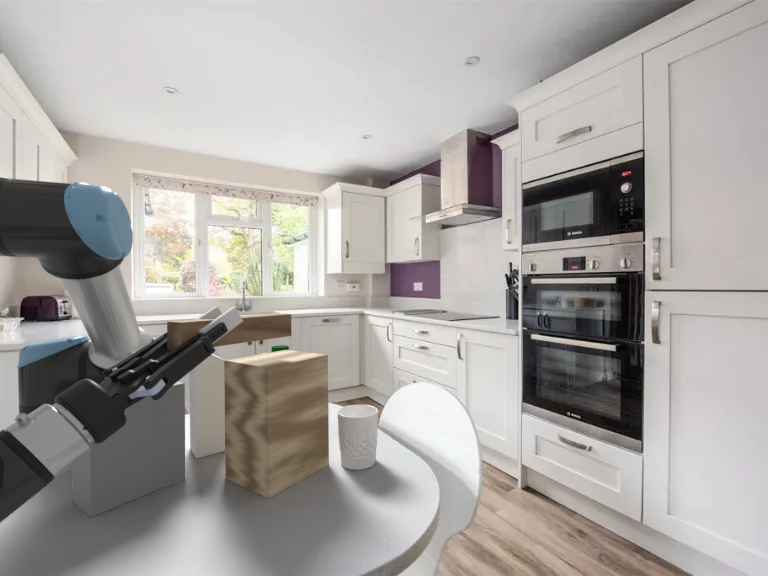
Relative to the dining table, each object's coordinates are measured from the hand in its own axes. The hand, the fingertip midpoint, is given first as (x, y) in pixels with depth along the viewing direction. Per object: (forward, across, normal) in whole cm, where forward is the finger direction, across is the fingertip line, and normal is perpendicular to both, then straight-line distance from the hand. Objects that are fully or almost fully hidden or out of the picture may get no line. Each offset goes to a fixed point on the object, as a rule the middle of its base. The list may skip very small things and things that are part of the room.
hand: (228, 313), depth 61 cm
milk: (-7, +21, +30) cm, 37 cm away
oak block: (-6, +1, +31) cm, 32 cm away
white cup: (+4, -9, +37) cm, 38 cm away
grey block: (-21, +17, +22) cm, 35 cm away
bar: (-1, 0, +5) cm, 5 cm away
